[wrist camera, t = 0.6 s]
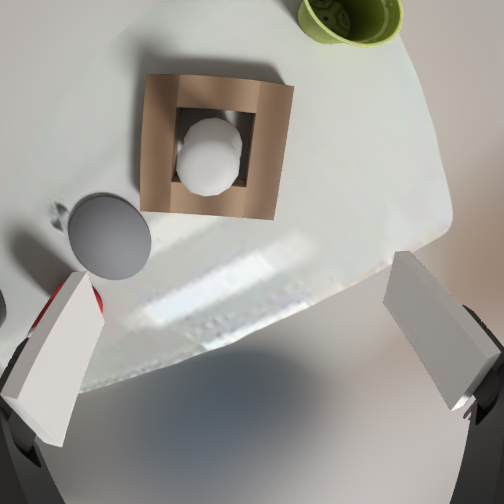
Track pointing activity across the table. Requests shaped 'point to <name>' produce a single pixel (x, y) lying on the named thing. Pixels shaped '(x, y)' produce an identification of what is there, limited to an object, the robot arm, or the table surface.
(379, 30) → the plant pot
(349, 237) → the table surface
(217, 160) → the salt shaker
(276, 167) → the collar block
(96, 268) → the coaster
